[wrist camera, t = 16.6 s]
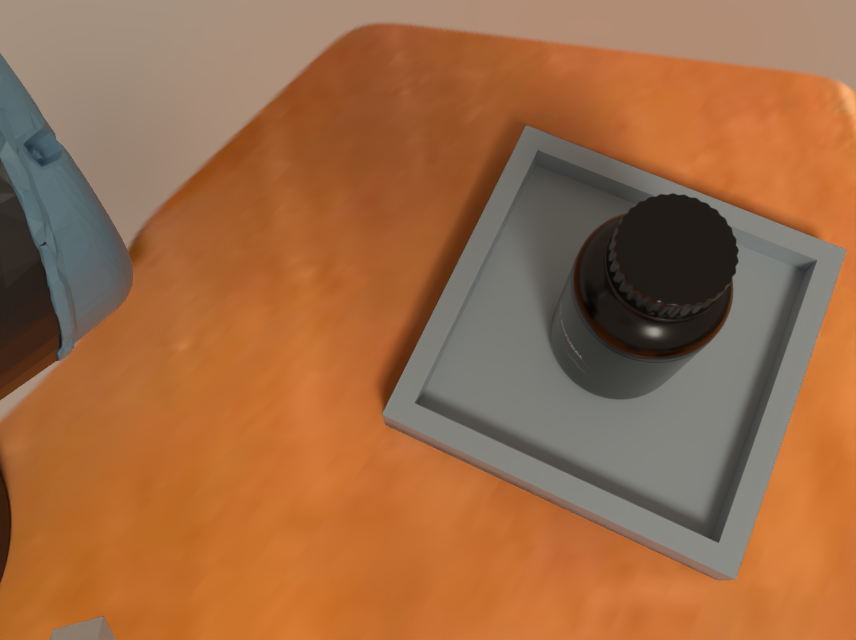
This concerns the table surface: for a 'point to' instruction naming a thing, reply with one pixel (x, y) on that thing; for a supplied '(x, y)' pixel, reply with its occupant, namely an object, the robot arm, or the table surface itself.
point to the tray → (601, 417)
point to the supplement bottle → (645, 296)
